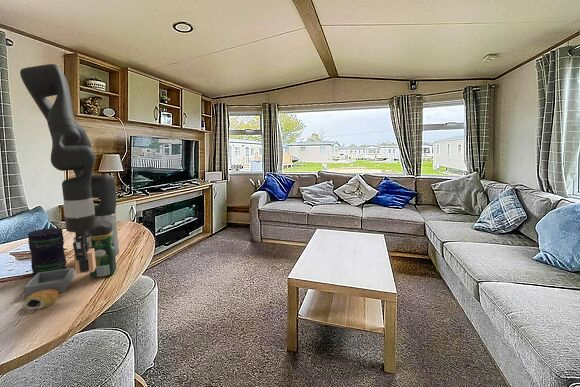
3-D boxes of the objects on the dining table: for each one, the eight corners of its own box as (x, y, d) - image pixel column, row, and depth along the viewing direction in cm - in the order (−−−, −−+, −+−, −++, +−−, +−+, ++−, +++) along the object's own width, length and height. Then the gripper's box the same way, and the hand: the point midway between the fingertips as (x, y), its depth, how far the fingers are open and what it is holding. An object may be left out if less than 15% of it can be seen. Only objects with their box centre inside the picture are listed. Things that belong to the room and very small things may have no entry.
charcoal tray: (38, 281, 105) (37, 272, 104) (74, 276, 109) (73, 268, 108) (25, 297, 94) (24, 287, 93) (65, 291, 98) (64, 281, 97)
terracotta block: (79, 268, 97) (77, 250, 96) (96, 266, 99) (94, 248, 98) (76, 274, 93) (73, 254, 92) (93, 271, 95) (91, 252, 94)
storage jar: (31, 272, 113) (25, 231, 111) (64, 264, 120) (59, 226, 118) (34, 280, 106) (29, 237, 104) (69, 272, 113) (65, 231, 111)
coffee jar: (93, 270, 115) (88, 220, 112) (118, 267, 117) (114, 218, 115) (87, 280, 106) (81, 226, 103) (113, 277, 108) (109, 224, 106)
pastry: (42, 295, 95) (40, 283, 95) (66, 294, 96) (65, 282, 96) (20, 311, 86) (18, 298, 86) (47, 310, 87) (46, 297, 86)
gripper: (70, 210, 98) (76, 262, 101) (58, 220, 85) (65, 279, 88) (98, 208, 101) (103, 258, 104) (90, 217, 88) (97, 275, 91)
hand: (86, 268), depth 96 cm, fingers closed on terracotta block, 4 cm apart
